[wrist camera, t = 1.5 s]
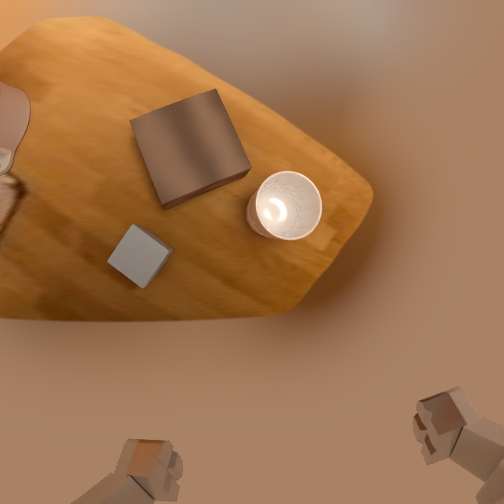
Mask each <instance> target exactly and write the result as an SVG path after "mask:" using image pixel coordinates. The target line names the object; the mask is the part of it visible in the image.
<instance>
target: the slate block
mask: <svg viewBox="0 0 504 504" xmlns="http://www.w3.org/2000/svg"><path fill="white" fill-rule="evenodd" d="M173 251H174V249H173V248H171V247H170V246H169V245H167V244H166V243H164V242H163V241H162V240H160V239H159V238H158V237H156V236H155V235H154V234H152V233H151V232H150V231H148V230H147V229H146V228H143V227H141V226H138V225H135V224H132V225H131V227H130V228H129V230H128V231H127V232H126V234H125V235H124V237H123V238H122V240H121V241H120V243H119V244H118V246H117V247H116V249H115V250H114V252H113V253H112V255H111V256H110V258H109V259H108V261H107V262H108V263H110V264H111V265H112V266H113V267H115V268H116V269H117V270H119V271H120V272H121V273H123V274H124V275H125V276H126V277H128V278H129V279H130V280H132V281H133V282H134V283H136V284H137V285H139V286H140V287H141V288H143V289H144V288H145V287H146V286H147V285H148V284H149V283H150V282H151V281H152V280H153V279H154V278H155V276H156V275H157V273H158V272H159V270H160V269H161V268H162V266H163V265H164V263H165V262H166V260H167V259H168V258H169V256H170V255H171V253H172V252H173Z"/></svg>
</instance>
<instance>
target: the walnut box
mask: <svg viewBox="0 0 504 504" xmlns="http://www.w3.org/2000/svg"><path fill="white" fill-rule="evenodd" d="M130 123H131V126H132V129H133V132H134V135H135V137H136V140H137V143H138V145H139V148H140V151H141V153H142V156H143V159H144V161H145V164H146V167H147V169H148V172H149V174H150V177H151V179H152V182H153V184H154V187H155V189H156V192H157V194H158V197H159V199H160V202H161V204H162V206H163V207H164V209H165V210H166V209H169V208H171V207H173V206H175V205H178V204H180V203H182V202H185V201H187V200H189V199H192V198H194V197H196V196H199V195H201V194H204V193H206V192H208V191H211V190H213V189H216V188H218V187H221V186H223V185H226V184H228V183H231V182H233V181H236V180H238V179H241V178H243V177H245V175H246V174H247V173H248V172H249V171H250V169H251V168H252V167H251V165H250V162H249V160H248V158H247V156H246V153H245V151H244V149H243V147H242V144H241V142H240V140H239V138H238V135H237V133H236V131H235V129H234V127H233V124H232V122H231V120H230V118H229V116H228V113H227V111H226V109H225V107H224V105H223V103H222V100H221V98H220V96H219V94H218V92H217V90H216V89H213V90H210V91H207V92H204V93H201V94H198V95H195V96H192V97H189V98H187V99H184V100H181V101H178V102H175V103H173V104H170V105H167V106H165V107H162V108H160V109H157V110H155V111H152V112H150V113H147V114H145V115H142V116H140V117H138V118H135V119H133V120H130Z"/></svg>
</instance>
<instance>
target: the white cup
mask: <svg viewBox="0 0 504 504" xmlns="http://www.w3.org/2000/svg"><path fill="white" fill-rule="evenodd" d="M321 213H322V201H321V197H320V194H319V192H318V190H317V188H316V186H315V185H314V184H313V183H312V182H311V181H310V180H309V179H308V178H307V177H305V176H304V175H302V174H300V173H297V172H292V171H282V172H278V173H275V174H273V175H271V176H270V177H268V178H267V179H266V180H265V181H264V182H263V183H262V184H261V185H260V187H259V188H258V189H257V190H256V191H255V193H254V194H253V195H252V197H251V198H250V200H249V202H248V205H247V207H246V220H247V222H248V223H249V225H250V227H251V229H252V230H254V231H255V232H256V233H258V234H259V235H261V236H265V237H268V238H274V239H283V240H296V239H300V238H303V237H305V236H306V235H308V234H309V233H311V232H312V231H313V230H314V229H315V227H316V226H317V224H318V222H319V220H320V217H321Z"/></svg>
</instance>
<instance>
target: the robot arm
mask: <svg viewBox="0 0 504 504" xmlns="http://www.w3.org/2000/svg"><path fill="white" fill-rule="evenodd" d="M29 116H30V104H29V100H28V97H27V95H26V94H25V93H24V92H23V91H22V90H21V89H19V88H16V87H12V86H9V85H7V84H5V83H3V82H1V81H0V165H1V166H0V175H2V174H4V173H6V172H7V171H9V169H10V168H11V166H12V162H13V158H14V154H15V150H16V148H17V146H18V144H19V143H20V141H21V139H22V137H23V135H24V133H25V131H26V128H27V125H28V121H29ZM416 410H417V412H418V413H417V414H416V415H415V416H414V419H413V430H414V433H415V437H416V439H417V441H418V442H420V443H422V444H423V447H422V450H421V452H422V454H423V456H424V459H425V461H426V464H427V465H430V464H433V463H435V462H438V461H441V460H443V459H446V458H448V457H450V459H451V460H453V461H454V462H456V463H457V464H459V465H460V466H461V467H463V468H464V469H466V470H467V471H469V472H471V473H472V474H473V475H475V476H476V477H478V478H479V479H481V480H482V481H484V482H485V484H484V485H483V486H482V488H481V489H480V490H479V492H478V493H477V495H476V499H477V502H478V504H504V426H503V425H500V424H498V423H496V422H494V421H491V420H489V419H487V418H485V417H483V418H481V419H480V417H479V416H478V414H477V412H476V411H475V409H474V408H473V406H472V404H471V403H470V401H469V400H468V398H467V397H466V395H465V394H464V392H463V390H462V389H461V388H460V387H455V388H452V389H450V390H447V391H445V392H441V393H438V394H436V395H433V396H430V397H428V398H425V399H422V400H419V401H418V402H417V405H416ZM172 449H173V445H172V444H171V443H170V442H169V441H162V440H142V439H128V440H127V441H126V442H125V444H124V447H123V450H122V452H121V455H120V458H119V460H118V463H117V466H116V469H115V471H114V474H111V473H110V474H109V475H108V476H106V477H105V478H104V479H103V480H101V481H100V482H99V483H98V484H96V485H95V486H94V487H92V488H91V489H90V490H88V491H87V492H86V493H85V494H83V495H82V496H81V497H79V498H78V499H77V500H75V501H74V502H73V503H71V504H153V503H154V502H155V501H154V500H159V501H177V497H178V492H179V485H178V483H177V480H178V479H180V477H182V472H183V464H182V460H181V457H180V456H179V454H178V453H177V452H175V451H173V450H172Z"/></svg>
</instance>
